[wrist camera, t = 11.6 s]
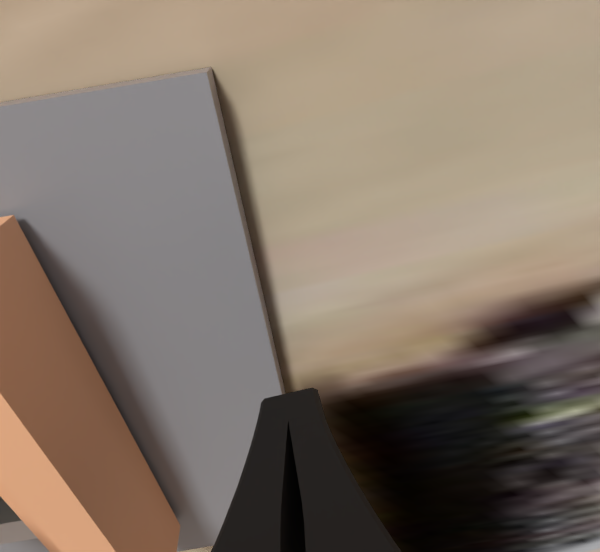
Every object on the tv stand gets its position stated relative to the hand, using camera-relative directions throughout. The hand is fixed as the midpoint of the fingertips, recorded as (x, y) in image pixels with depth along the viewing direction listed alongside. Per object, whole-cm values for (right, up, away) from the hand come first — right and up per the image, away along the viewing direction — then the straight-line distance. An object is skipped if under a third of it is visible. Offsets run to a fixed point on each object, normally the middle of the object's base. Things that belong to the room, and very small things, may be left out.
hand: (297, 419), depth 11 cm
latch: (-6, 0, +1) cm, 6 cm away
